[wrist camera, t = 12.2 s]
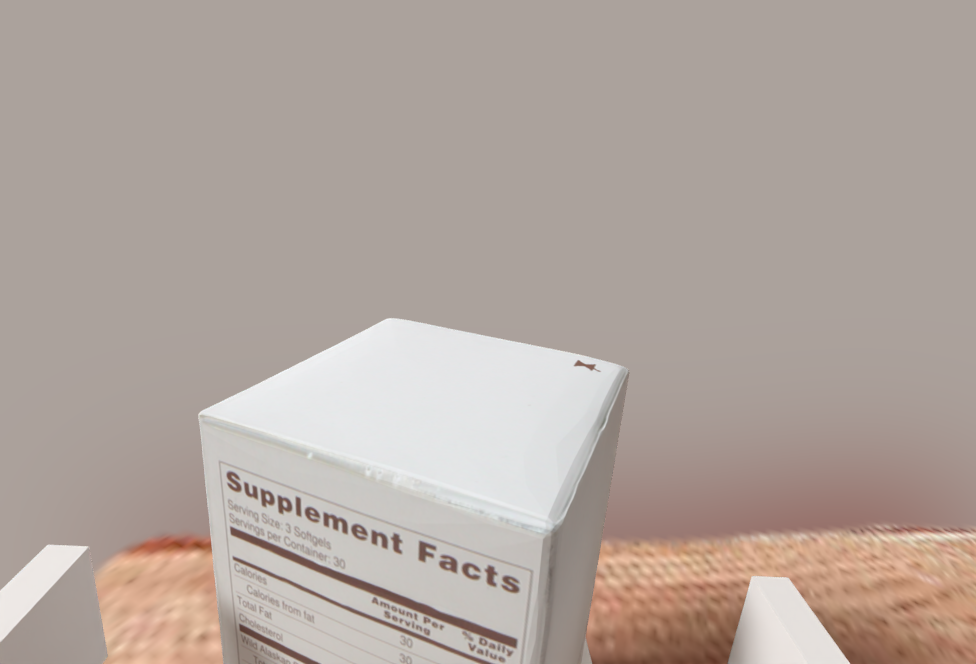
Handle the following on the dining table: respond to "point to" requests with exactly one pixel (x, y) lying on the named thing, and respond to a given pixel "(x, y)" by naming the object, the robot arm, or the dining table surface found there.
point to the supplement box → (412, 501)
